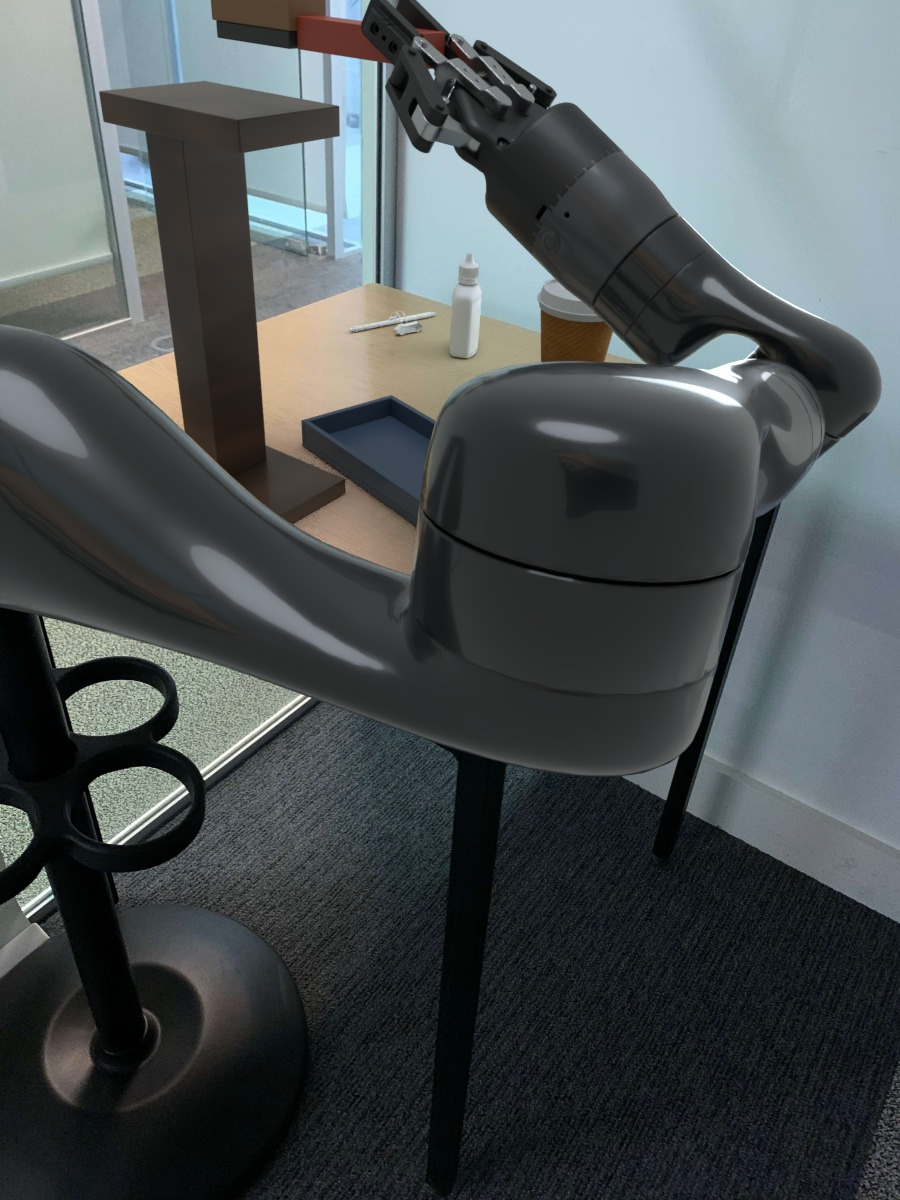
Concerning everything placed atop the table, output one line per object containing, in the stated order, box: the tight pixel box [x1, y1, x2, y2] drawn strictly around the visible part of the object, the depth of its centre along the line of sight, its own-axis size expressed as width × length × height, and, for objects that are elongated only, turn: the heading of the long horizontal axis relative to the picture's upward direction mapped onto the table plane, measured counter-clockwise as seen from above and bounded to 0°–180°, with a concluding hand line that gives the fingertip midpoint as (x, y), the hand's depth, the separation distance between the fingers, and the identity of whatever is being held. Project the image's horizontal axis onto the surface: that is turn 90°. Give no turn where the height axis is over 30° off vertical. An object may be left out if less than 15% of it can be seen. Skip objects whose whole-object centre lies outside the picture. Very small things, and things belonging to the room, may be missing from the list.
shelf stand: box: [98, 80, 347, 525], centre depth 74 cm, size 14×10×32 cm
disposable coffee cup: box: [536, 277, 614, 362], centre depth 102 cm, size 10×10×12 cm
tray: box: [300, 394, 436, 528], centre depth 87 cm, size 21×11×3 cm, turn 40°
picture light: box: [347, 310, 437, 336], centre depth 119 cm, size 14×4×2 cm, turn 127°
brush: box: [210, 0, 445, 68], centre depth 57 cm, size 17×4×3 cm, turn 55°
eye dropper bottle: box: [449, 251, 483, 359], centre depth 111 cm, size 4×6×12 cm
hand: (384, 12), depth 54 cm, fingers closed on brush, 2 cm apart
